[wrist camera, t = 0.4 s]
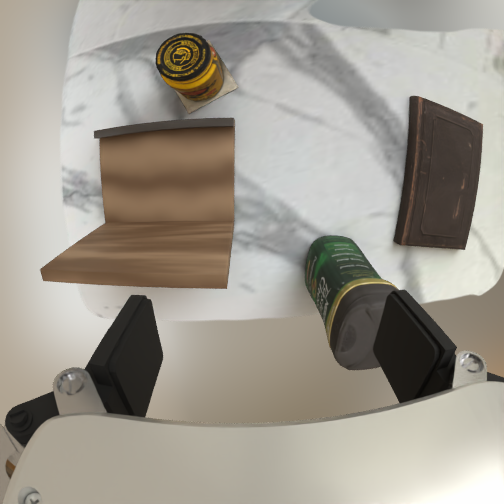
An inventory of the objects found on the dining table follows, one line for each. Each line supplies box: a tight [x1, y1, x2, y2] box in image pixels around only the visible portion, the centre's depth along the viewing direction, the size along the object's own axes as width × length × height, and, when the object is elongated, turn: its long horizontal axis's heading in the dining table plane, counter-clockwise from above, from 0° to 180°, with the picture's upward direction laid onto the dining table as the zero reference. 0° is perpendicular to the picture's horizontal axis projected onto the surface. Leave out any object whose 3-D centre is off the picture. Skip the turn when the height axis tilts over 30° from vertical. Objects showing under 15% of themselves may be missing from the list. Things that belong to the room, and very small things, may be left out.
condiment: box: [156, 33, 238, 114], centre depth 25 cm, size 7×8×12 cm
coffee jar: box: [305, 236, 398, 370], centre depth 32 cm, size 10×8×19 cm
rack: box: [41, 118, 235, 289], centre depth 27 cm, size 14×18×18 cm
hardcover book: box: [394, 96, 483, 250], centre depth 35 cm, size 16×23×2 cm
